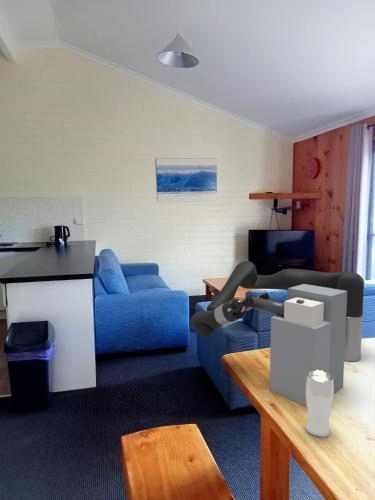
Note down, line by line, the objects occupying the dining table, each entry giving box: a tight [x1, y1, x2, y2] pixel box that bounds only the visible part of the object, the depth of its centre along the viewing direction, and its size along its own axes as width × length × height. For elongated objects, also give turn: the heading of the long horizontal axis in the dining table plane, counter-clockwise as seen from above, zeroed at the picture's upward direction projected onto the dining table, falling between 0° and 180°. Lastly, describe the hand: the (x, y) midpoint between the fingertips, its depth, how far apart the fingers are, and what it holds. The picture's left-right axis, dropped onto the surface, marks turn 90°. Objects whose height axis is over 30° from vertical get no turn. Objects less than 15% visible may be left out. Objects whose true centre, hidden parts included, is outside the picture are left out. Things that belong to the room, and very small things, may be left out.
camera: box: [251, 296, 324, 327], centre depth 112 cm, size 7×23×7 cm, turn 41°
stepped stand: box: [269, 284, 347, 407], centre depth 112 cm, size 19×15×32 cm
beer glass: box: [305, 370, 335, 438], centre depth 92 cm, size 7×7×15 cm
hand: (260, 297), depth 118 cm, fingers open, 8 cm apart
